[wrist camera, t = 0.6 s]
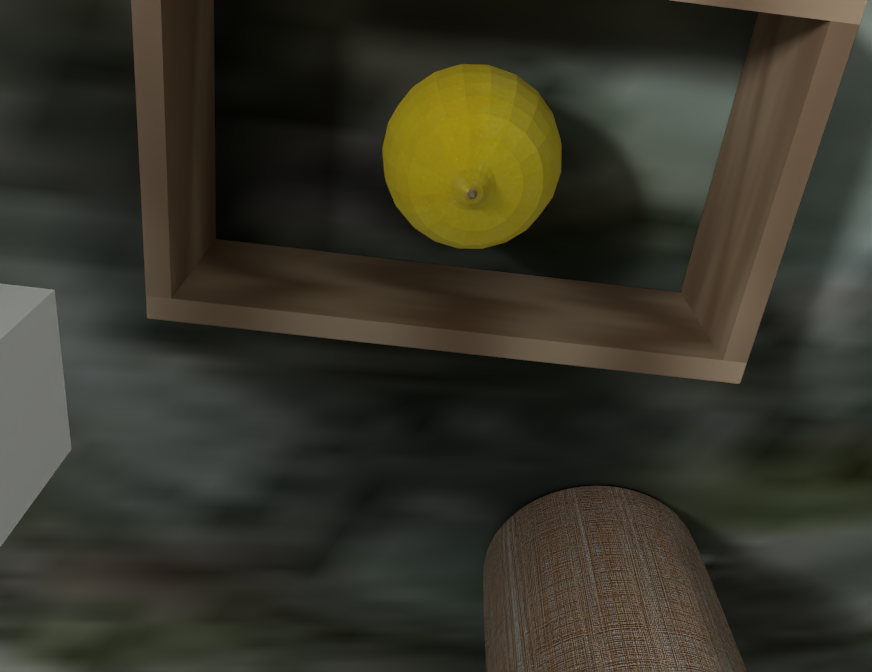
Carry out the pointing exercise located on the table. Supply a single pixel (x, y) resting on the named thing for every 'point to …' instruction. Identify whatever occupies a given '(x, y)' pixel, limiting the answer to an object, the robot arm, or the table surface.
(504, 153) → the fruit
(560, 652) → the planter
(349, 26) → the table surface
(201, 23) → the open wooden box frame
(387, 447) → the table surface
